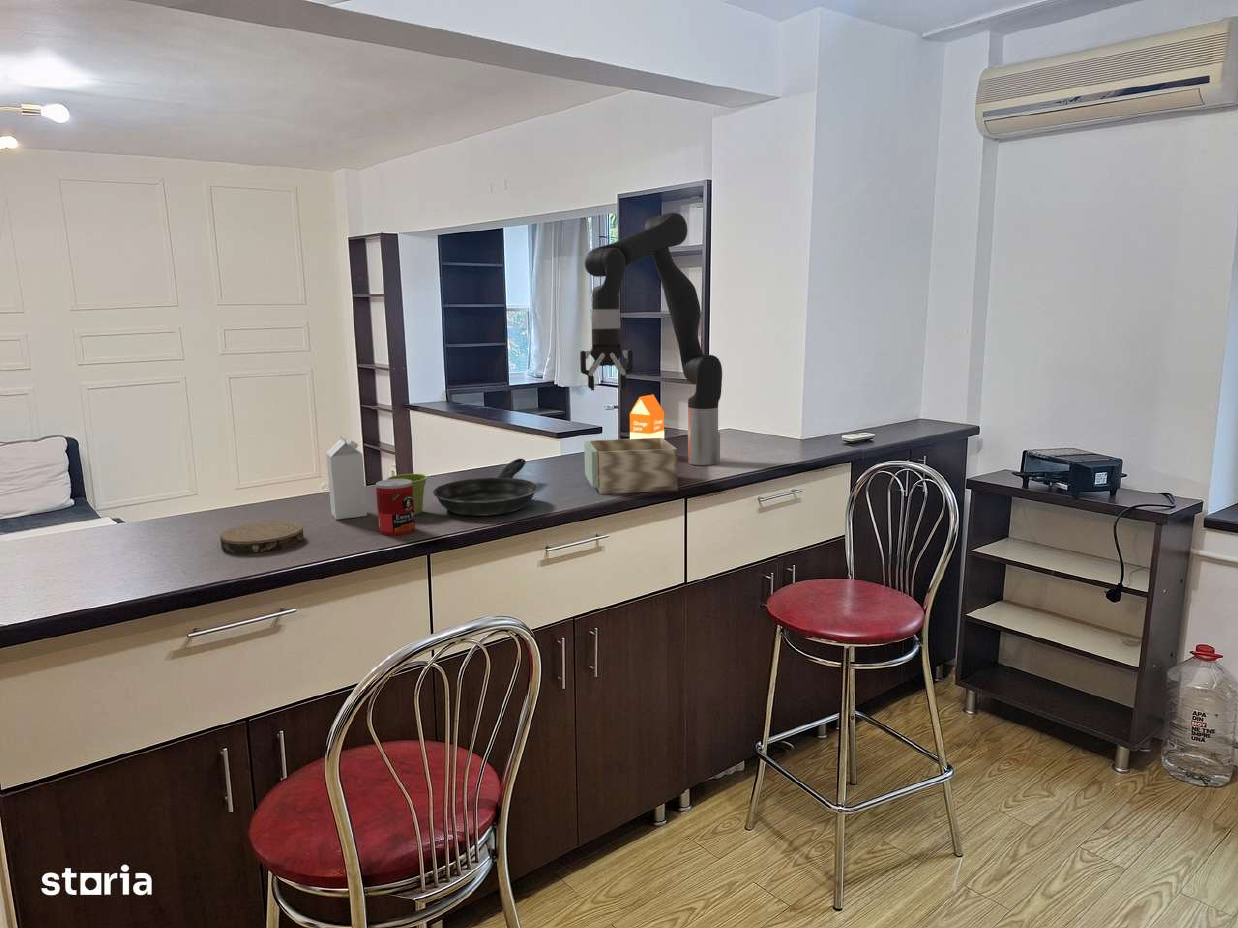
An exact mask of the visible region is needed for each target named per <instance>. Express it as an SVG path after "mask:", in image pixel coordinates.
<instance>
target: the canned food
mask: <svg viewBox="0 0 1238 928" xmlns="http://www.w3.org/2000/svg"><path fill="white" fill-rule="evenodd" d="M386 479H387V478H386ZM386 479H383V480H379V481H377V482H376V483H375V491H376V492H375V493H376V505H377V508H376V509H377V516H378V530H379V532H380V533H381V534H382V535H385V536H404V535H408V534H411V533H413V532H414V531H415V530H416V519H415V518H416V515H415V514H414V498H413V484H412V481H411V480H408V479H387V480H386Z"/></svg>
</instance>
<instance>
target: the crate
mask: <svg viewBox="0 0 1238 928" xmlns="http://www.w3.org/2000/svg"><path fill="white" fill-rule="evenodd" d="M589 441H590V442H591V444H592V445H593V446H594V448H595V449H596V450H597V453H598V487H595V488H596V490H597V491H598V493H599V495H610V494H609V493H612V494H628V493H629V494H630V493H631V494H632V493H651V492H670V491H672V492H673V491H678V448H676V447H675V446H674V445H672V444H671V443H670V442H668V440H666V439H665V438H664V439H663V438H641V439H630V438H623V439H622V438H620V439H618V438H617V439H596V440H595V439H594V440H589Z"/></svg>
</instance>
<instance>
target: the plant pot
mask: <svg viewBox="0 0 1238 928" xmlns="http://www.w3.org/2000/svg"><path fill="white" fill-rule="evenodd" d="M387 479H408V480H411V481H412V484H413V498H414V514H415V516H416V515H420V514H421V513H422V512H423V505H424V494H425V493H424V492H425V491H424V490H425V485H426V481H427V479H428V476H427V475H426V474H421V473H405V474H404V473H403V474H396V475H392V476H388V477H387V478H386V479H385V480H387Z"/></svg>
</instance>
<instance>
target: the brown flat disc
mask: <svg viewBox="0 0 1238 928" xmlns="http://www.w3.org/2000/svg"><path fill="white" fill-rule="evenodd" d="M304 538H305V537H304V527H303V525H302V524H301V523H299V522H294V521H283V520H281V521H280V520H278V521H277V520H273V521H260V522H255V523H248V524H243V525H239V526H234V527H232V528H229V529H226V530H225V531H223V532H222V533H221V534H220V535H219V539H220V545H221V546H220V547H221V550H222V552H224V553H227V554H230V555H231V554H232V555H259V554H267V553H275V552H279V551H283V550H287V549H290V548H294V547H295V546H298V545H299V544H301V543H303V541H304Z"/></svg>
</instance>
